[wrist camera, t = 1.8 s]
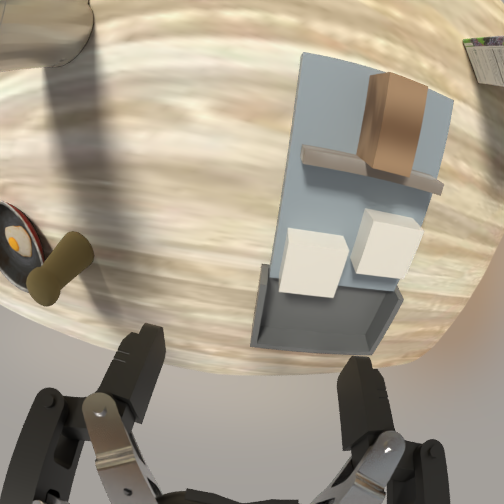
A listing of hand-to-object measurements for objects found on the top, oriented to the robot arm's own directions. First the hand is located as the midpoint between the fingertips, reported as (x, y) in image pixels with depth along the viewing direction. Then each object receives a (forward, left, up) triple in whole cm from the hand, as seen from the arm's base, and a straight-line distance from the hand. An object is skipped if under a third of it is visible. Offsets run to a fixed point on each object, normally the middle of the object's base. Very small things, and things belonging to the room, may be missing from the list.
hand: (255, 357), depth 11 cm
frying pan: (+14, -49, -22) cm, 55 cm away
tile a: (+3, +13, -19) cm, 23 cm away
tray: (+15, +9, -21) cm, 28 cm away
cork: (+12, -27, -21) cm, 36 cm away
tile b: (+6, +5, -19) cm, 20 cm away
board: (-2, +9, -21) cm, 23 cm away
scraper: (-10, +9, -19) cm, 23 cm away
